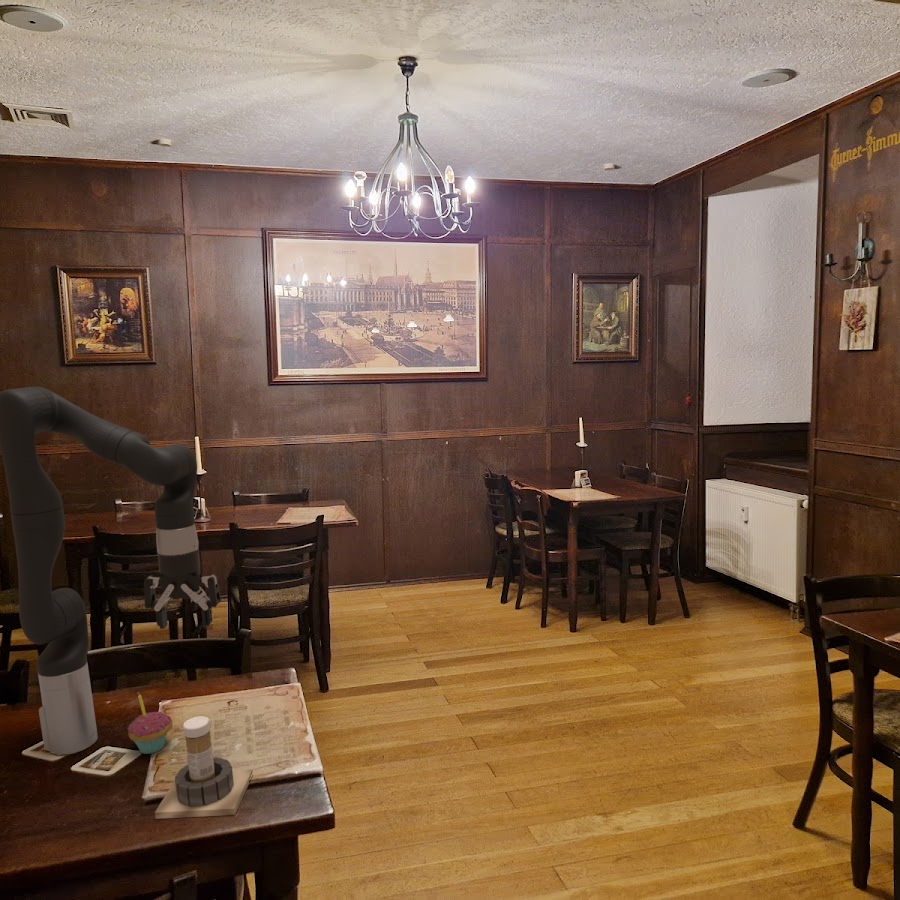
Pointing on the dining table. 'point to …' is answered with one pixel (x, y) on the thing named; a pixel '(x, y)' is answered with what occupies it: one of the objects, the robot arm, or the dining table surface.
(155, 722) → the cupcake
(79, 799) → the dining table surface
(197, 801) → the ring holder
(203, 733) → the sprinkles bottle
